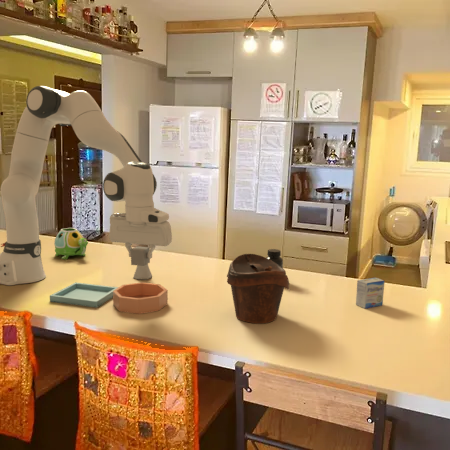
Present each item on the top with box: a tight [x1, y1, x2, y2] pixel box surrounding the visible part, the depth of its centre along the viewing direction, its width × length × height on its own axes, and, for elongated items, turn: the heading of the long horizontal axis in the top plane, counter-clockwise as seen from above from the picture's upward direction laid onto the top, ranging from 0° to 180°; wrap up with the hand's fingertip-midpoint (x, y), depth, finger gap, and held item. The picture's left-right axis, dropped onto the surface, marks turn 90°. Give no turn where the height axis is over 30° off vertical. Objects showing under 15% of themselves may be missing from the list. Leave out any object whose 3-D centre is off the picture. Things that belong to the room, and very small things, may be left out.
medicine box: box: [355, 277, 385, 310], centre depth 163 cm, size 8×4×9 cm, turn 118°
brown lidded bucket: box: [226, 253, 290, 325], centre depth 150 cm, size 18×20×18 cm
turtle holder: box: [54, 227, 89, 260], centre depth 216 cm, size 12×18×12 cm
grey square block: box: [130, 245, 151, 266], centre depth 158 cm, size 4×4×5 cm
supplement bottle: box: [265, 248, 284, 269], centre depth 187 cm, size 7×7×12 cm
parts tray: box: [49, 282, 119, 308], centre depth 166 cm, size 17×15×2 cm
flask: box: [132, 263, 153, 280], centre depth 188 cm, size 7×7×10 cm
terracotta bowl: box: [112, 282, 169, 315], centre depth 160 cm, size 16×16×5 cm
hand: (140, 257), depth 158 cm, fingers closed on grey square block, 4 cm apart
